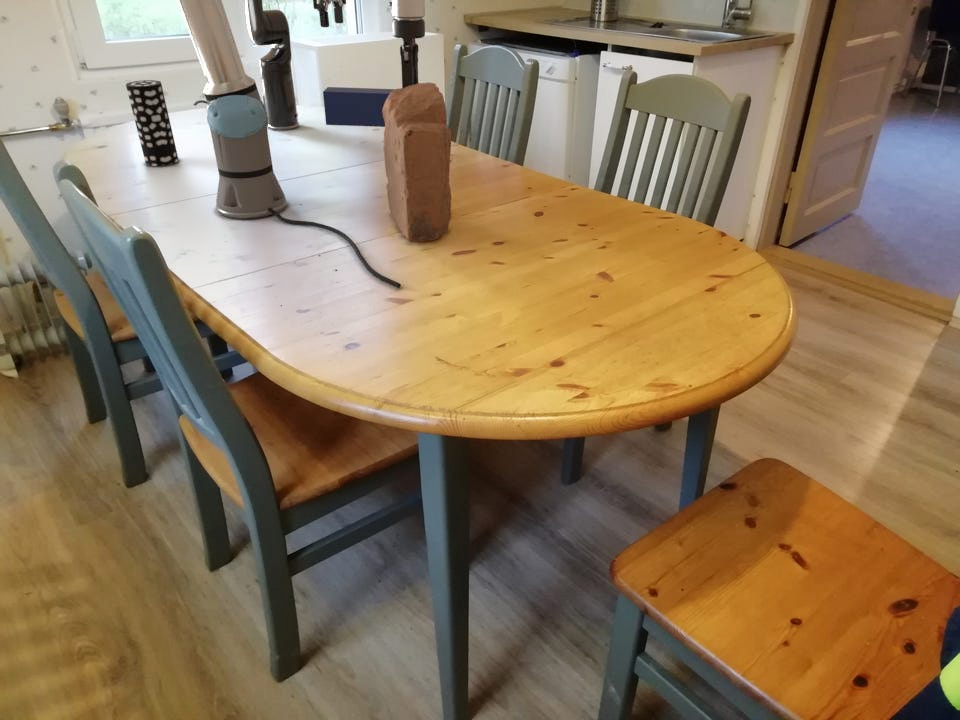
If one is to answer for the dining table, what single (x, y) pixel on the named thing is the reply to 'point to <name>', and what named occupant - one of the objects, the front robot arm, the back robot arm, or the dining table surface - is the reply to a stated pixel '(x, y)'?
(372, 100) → the bar
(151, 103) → the black spotted cylinder
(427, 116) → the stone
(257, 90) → the front robot arm
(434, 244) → the dining table surface
